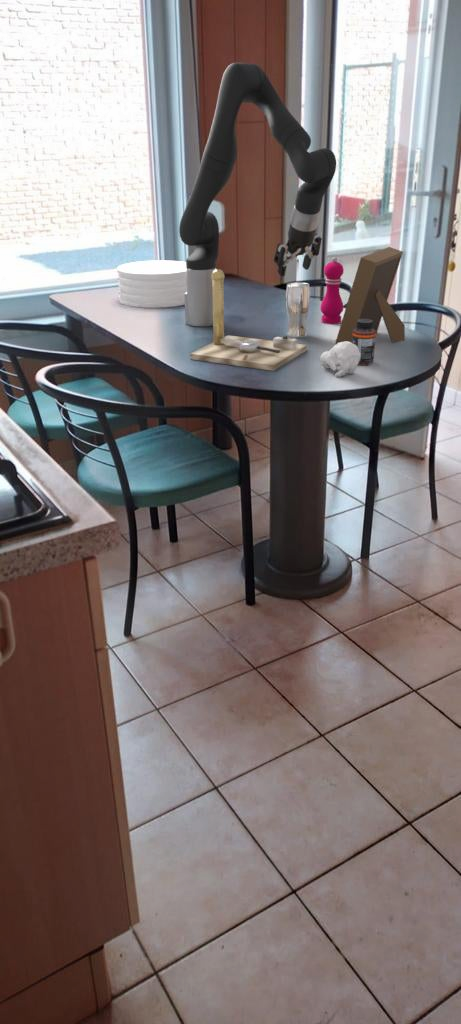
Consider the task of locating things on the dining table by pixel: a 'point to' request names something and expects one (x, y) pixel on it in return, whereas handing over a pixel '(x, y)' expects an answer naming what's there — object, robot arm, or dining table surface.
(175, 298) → the plate stack
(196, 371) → the dining table surface
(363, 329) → the supplement bottle
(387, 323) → the photo frame
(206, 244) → the robot arm
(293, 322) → the beer glass
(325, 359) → the white animal figurine
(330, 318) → the pepper mill
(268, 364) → the stand
